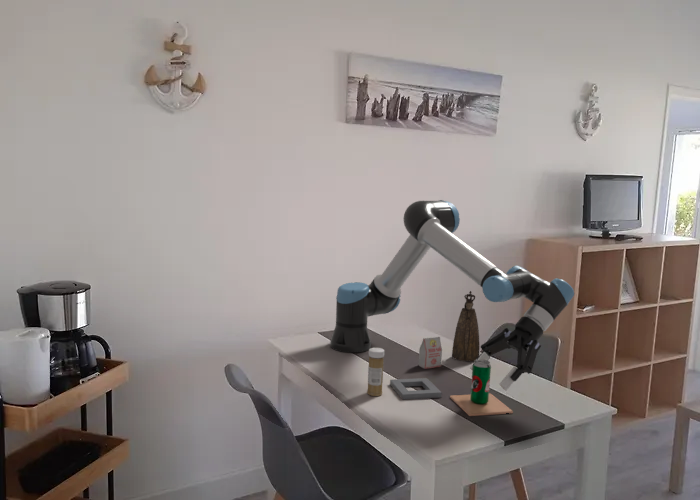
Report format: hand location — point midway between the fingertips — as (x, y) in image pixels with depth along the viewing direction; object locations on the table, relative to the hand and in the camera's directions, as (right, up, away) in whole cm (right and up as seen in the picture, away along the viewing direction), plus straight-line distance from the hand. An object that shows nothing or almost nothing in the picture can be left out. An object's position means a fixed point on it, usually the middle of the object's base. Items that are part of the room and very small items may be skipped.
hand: (487, 379), depth 162 cm
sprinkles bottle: (-32, -6, +6) cm, 33 cm away
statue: (+2, -2, +43) cm, 43 cm away
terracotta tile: (-2, -8, +1) cm, 8 cm away
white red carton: (-12, -3, +33) cm, 35 cm away
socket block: (-19, -6, +10) cm, 22 cm away
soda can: (-2, -7, +2) cm, 7 cm away
